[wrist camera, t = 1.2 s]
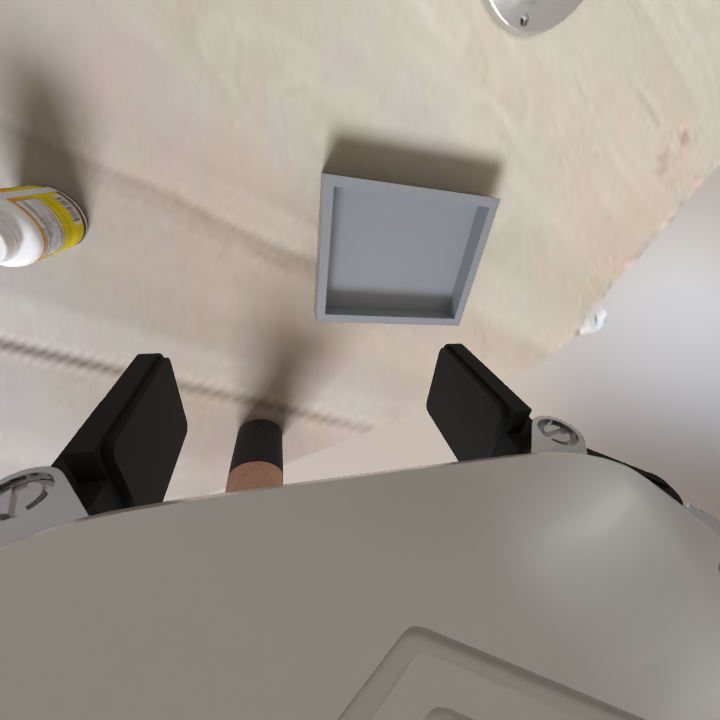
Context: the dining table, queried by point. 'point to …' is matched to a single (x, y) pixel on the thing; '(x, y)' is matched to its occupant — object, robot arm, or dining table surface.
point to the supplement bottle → (37, 224)
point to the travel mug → (256, 457)
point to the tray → (397, 251)
